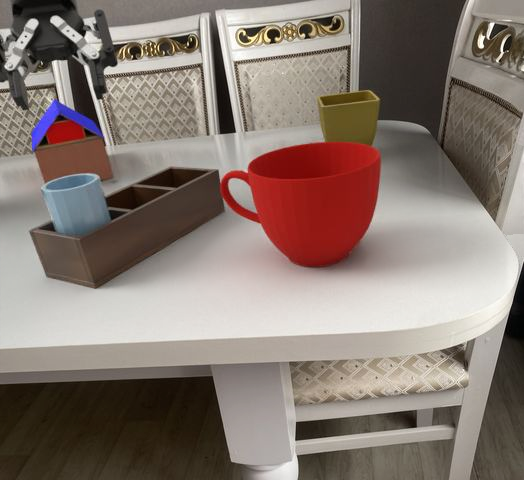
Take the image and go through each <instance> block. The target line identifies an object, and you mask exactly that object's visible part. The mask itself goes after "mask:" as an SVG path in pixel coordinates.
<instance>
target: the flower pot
mask: <svg viewBox="0 0 524 480" xmlns="http://www.w3.org/2000/svg"><path fill="white" fill-rule="evenodd" d="M316 102H317V108H318V116H319V122H320V128H321V133H322V136H323V139H324V142H351V143H359V144H364V145H368V146H371V147H373V144H374V141H375V138H376V135H377V129H378V121H379V111H380V104H381V99H380V98H379V96H377V95H376V94H375V93H374V92H373V91H372V90H370V89H367V90H358V91H357V90H356V91H350V92H341V93H334V94H326V95H318V96H316Z"/></svg>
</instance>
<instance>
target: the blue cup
mask: <svg viewBox="0 0 524 480" xmlns="http://www.w3.org/2000/svg"><path fill="white" fill-rule="evenodd" d="M40 191H41V194H42V196H43V199H44V202H45V205H46V208H47V210H48V215H49V216H50V220H52V222H53V225H54V228H55V231H56V232H58V233H64V234H70V235H75V236H82V235H84V234H86V233H88V232H90V231H92V230H94V229H96V228H98V227H100V226H102V225H104V224H106V223H108V222H110V221H112V219H111V216H110V212H109V209H108V205H107V202H106V198H105V196H106V195H105V192H104V188H103V185H102V180H100V177H99V176H98V175H96V174H90V173H85V174H75V175H69V176H65V177H61V178H57V179H54V180H52V181H49V182H47V183H46V184H45V183H44V184H43V185H42V186H41V187H40Z"/></svg>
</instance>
